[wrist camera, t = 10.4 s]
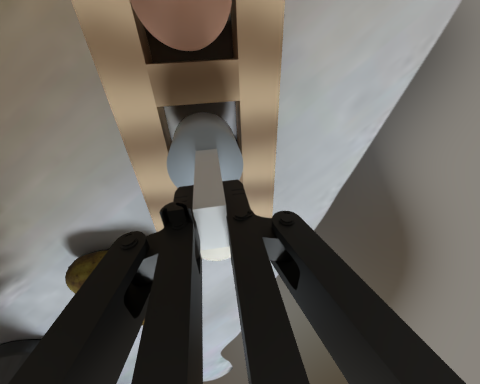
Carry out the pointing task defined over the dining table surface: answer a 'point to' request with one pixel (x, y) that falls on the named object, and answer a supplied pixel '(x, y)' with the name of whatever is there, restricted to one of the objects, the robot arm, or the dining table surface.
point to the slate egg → (203, 148)
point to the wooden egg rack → (190, 92)
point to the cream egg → (216, 254)
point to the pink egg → (183, 21)
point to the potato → (83, 270)
